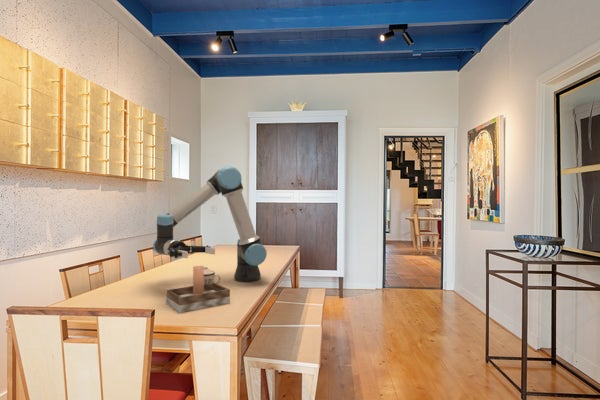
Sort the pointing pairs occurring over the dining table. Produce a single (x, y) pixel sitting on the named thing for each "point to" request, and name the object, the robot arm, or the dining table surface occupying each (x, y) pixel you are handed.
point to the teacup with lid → (209, 276)
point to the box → (197, 297)
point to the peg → (198, 280)
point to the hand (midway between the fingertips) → (201, 253)
